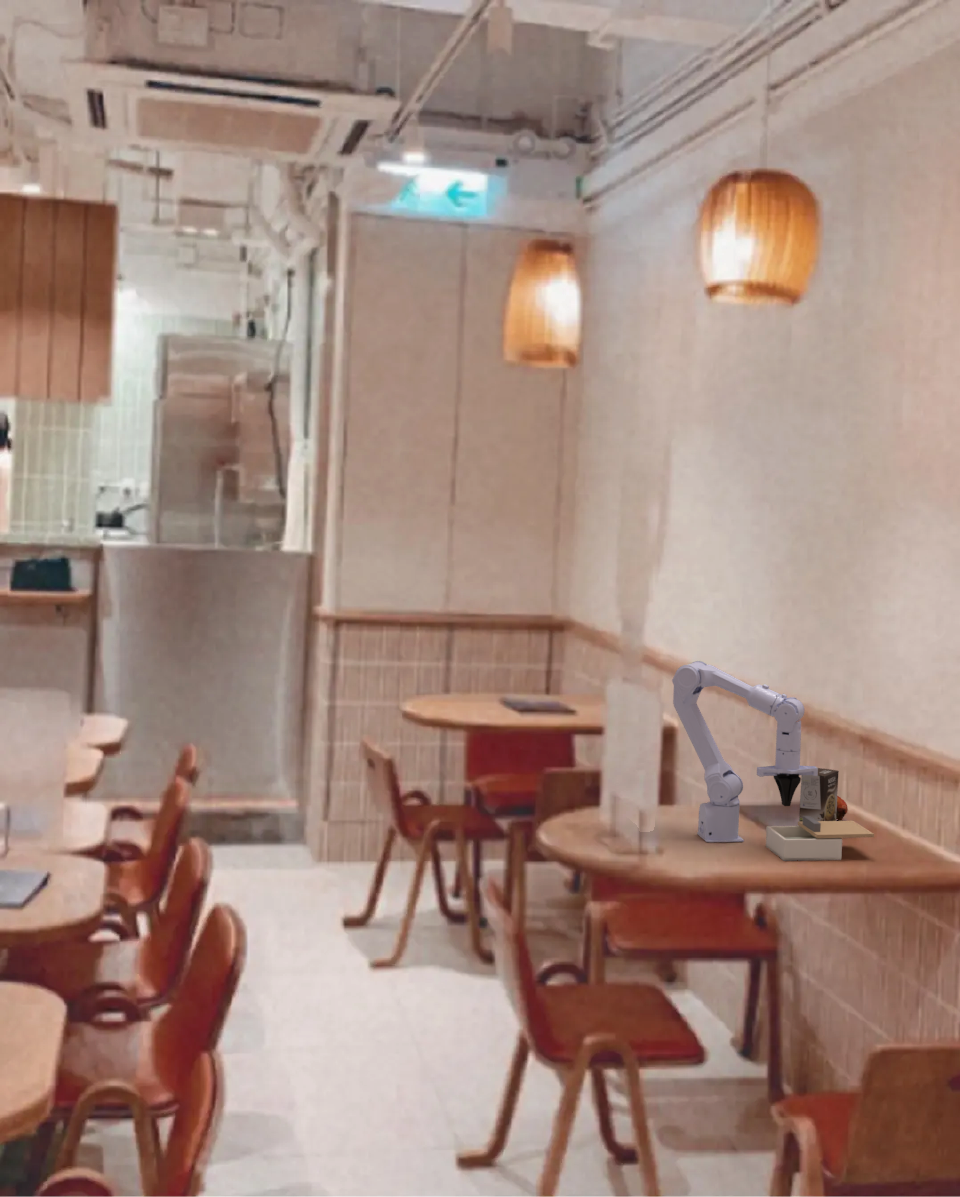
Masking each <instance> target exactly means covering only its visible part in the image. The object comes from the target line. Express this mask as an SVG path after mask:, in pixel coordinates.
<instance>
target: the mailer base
mask: <svg viewBox="0 0 960 1197" xmlns="http://www.w3.org/2000/svg"><path fill="white" fill-rule="evenodd" d="M765 831H766V834H765V835H766V836H765V847H766V849H768V848H769V849H770V850H769V849H768V850H769V851H771V853H773V854H774V855H776V856H777V855H778V856H779V857H780V858H779V857H778V856H777V857H778V858H779V859H781V861H783V862H801V861H804V862H809V861H811V862H812V861H841V860H842V857H843V856H842V852H843V851H842V849H843V838H816V837H815V836H813V835H812V834H810V833H809V832H807V831H806V830H804V829H803V828H802V827H800V826H799V825H781V826H780V825H779V826H778V825H773V826H772V825H771V826H768V825H767V826H766V830H765ZM797 860H798V861H797Z"/></svg>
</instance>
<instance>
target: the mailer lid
mask: <svg viewBox="0 0 960 1197" xmlns="http://www.w3.org/2000/svg"><path fill="white" fill-rule="evenodd" d="M797 826H800V827H802V828H803V829H804V830H806V831H807V832H809V833H810V834H812V835H813V836H815V837H816V838H842V839H844V838H847V839H848V838H849V839H850V838H851V839H852V838H854V839H856V838H859V839H860V838H875V833H873V832H872V831H870V830H868V829H867V828H866V827H864V826H862V825H861V824H859V823H858V822H856V821H854V820H839V821H816V820H815V819H813V818H812V817H810V816H803V821H799V820H798V821H797Z"/></svg>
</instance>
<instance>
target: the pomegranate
mask: <svg viewBox="0 0 960 1197" xmlns="http://www.w3.org/2000/svg"><path fill="white" fill-rule="evenodd" d="M848 811H849V810H848V804H847V803H846V801H845V800H844V799H843V798H842V797H841V796H840V795H837V811H836V819H838V820H839V821H842V820H844V817H845V816H846V814H848Z"/></svg>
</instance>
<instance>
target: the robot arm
mask: <svg viewBox="0 0 960 1197" xmlns="http://www.w3.org/2000/svg"><path fill="white" fill-rule="evenodd" d="M671 682H672V684H673V694H672V695H673V699H672V704H673V707H674V709H675V712H676V713H677V716H678V717H679V719H680V721H681V724H682V725H683V728H684V730H685V733H686V734H687V736H688V738H689V740H690V742H691V744H692V746H693V749H694V750H695V753H696V754H697V756H698V759H699V761H700V762H701V765H702V767H703V769H704V776H703V777H704V781H705V784H706V792H707V796H708V798H709V801H708V802H702V803H700V804H699V808H698V821H697V822H698V826H697V833H696V834H697V835H698V836H699V837H700V838H701V839H703V841H705V842H706V843H734V842H736V843H737V842H739V843H743V842H744V841H745V839H743V838H742V837H741V836H740V835H739V827H740V826H739V822H740V820H739V819H740V805H741V804H740V799H739V796H740V795H741V793H742V792H743V790H744V782H743V780H742V778H741V777H740V776H739V775H738V774H737V773H736V772H735V771H734V769H733V768H732V766H731V765H730V764H729V763H728V762H727V761H726V760H725V759H724V757H723V755H722V753H721V751H720V749H719V747H718V745H717V743H716V740H715V738H714V737H713V734H712V733H711V731H710V728H709V726H708V724H707V722H706V720H705V717H704V716H703V713H702V712H701V710H700V708H699V706H698V704H697V703H698V699H699V698H700V694H701V693H702V691H703V689H704V688H708V687H709V688H710V687H718V688H720V689H723V690H725V691H728V692H729V693H732V694H734V695H737V696H738V697H741V698H745V700H746V702H747V705H748V706H749V707H751V708H752V709H755V710H757V711H759V712H762V713H764V714H766V715H768V716H771V717H772V718H773V717H774V720H775V721H776V724H777V725H776V735H775V736H776V738H775V739H776V741H775V742H776V743H775V761H774V762H775V764H774V765H769V766H768V765H767V766H756V775H757V777H772V776H773V779H774V782H775V783H776V785H777V788H778V792H779V795H780V798H781V799H780V800H781V805H782V806H784V807H791V804H792V801H793V797H794V794H795V792H796V790H797V788H798V786H799V784H801V776H802V775H813V776H818V768H819V767H817V766H816V765H800V764H801V749H802V748H801V747H802V746H801V745H802V742H801V741H802V720H801V719H802V718H804V716H805V711H806V710H805V706H804V704H803V702H802V701H801V700H800V699H798V698H797V697H795V696H792V697H791V696H790V697H788V695H787V694H785V693H782V694H781V693H779V692H777V691H774V690H772V689H770V685H768V684H766V683H764V684H760V683H759V684H756V685H754V686H752V685H750V684H748V683H746V682H745V681H742V680H741V679H739V678H736V677H735V676H733V675H732V674H730V673H727V672H726V671H723V670H722V669H719V668H718V667H716V666H715V665H712V664H707V663H706V662H704V661H701V660H695V661H692V662H691V663H689V664H683V665H681V666H680V667H678V668H677V670H676V671H675V673H674V675H673V678H672V680H671Z"/></svg>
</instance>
